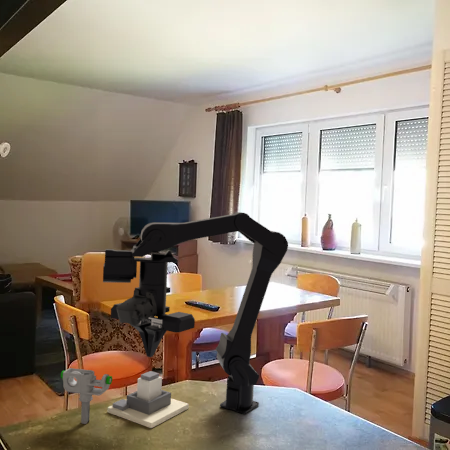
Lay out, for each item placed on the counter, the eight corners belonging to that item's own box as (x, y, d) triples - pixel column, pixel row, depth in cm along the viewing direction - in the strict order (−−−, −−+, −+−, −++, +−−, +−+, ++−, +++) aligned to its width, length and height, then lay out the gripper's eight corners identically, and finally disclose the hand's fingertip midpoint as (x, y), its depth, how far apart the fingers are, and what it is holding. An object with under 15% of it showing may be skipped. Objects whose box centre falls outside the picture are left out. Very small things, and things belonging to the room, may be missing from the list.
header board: (146, 394, 115) (146, 379, 115) (188, 408, 109) (189, 392, 109) (107, 412, 105) (107, 395, 105) (151, 428, 99) (152, 410, 98)
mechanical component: (105, 428, 98) (107, 377, 97) (57, 421, 100) (58, 371, 99) (112, 422, 101) (114, 372, 100) (65, 415, 103) (66, 367, 102)
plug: (149, 400, 109) (150, 369, 109) (160, 404, 108) (162, 373, 107) (136, 406, 106) (137, 374, 106) (148, 410, 104) (149, 378, 104)
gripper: (92, 281, 104) (89, 356, 105) (162, 294, 94) (159, 377, 95) (130, 276, 113) (127, 345, 114) (197, 287, 103) (194, 362, 104)
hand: (149, 356), depth 106 cm, fingers closed
